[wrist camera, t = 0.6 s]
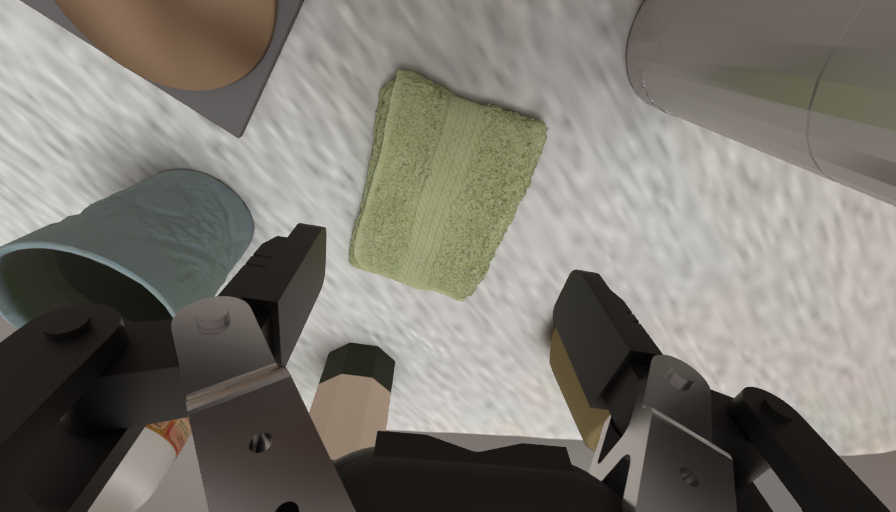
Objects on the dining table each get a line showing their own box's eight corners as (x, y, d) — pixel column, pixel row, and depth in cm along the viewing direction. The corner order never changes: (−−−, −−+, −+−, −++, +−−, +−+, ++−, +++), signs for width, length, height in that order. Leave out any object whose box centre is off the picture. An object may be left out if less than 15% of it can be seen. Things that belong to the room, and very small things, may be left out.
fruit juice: (258, 356, 40) (12, 811, 17) (183, 364, 41) (-154, 814, 18) (217, 296, 35) (-223, 839, 12) (130, 306, 35) (-449, 841, 12)
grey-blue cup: (209, 142, 26) (68, 217, 16) (288, 246, 32) (219, 349, 22) (109, 187, 28) (-72, 278, 18) (200, 277, 33) (99, 385, 24)
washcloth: (347, 259, 33) (338, 280, 30) (387, 59, 24) (380, 63, 21) (474, 290, 36) (476, 312, 33) (556, 121, 26) (569, 132, 23)
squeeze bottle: (556, 363, 42) (620, 552, 27) (529, 323, 38) (586, 519, 23) (623, 338, 39) (732, 531, 25) (601, 293, 35) (716, 490, 21)
